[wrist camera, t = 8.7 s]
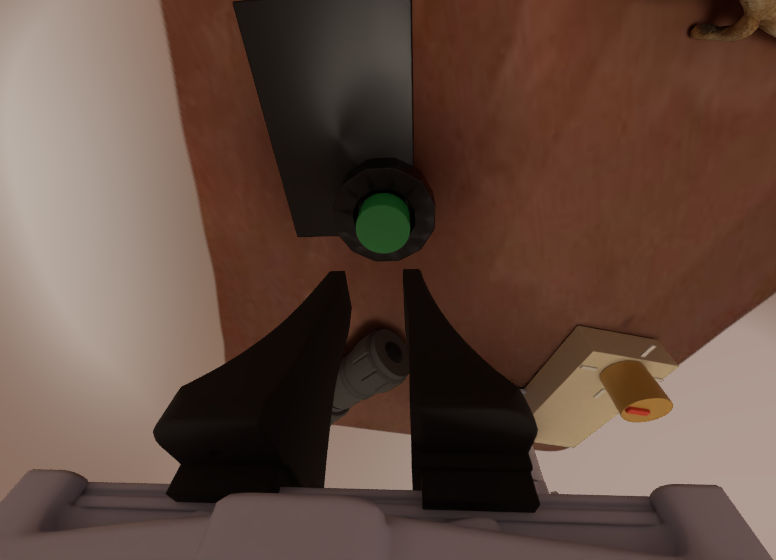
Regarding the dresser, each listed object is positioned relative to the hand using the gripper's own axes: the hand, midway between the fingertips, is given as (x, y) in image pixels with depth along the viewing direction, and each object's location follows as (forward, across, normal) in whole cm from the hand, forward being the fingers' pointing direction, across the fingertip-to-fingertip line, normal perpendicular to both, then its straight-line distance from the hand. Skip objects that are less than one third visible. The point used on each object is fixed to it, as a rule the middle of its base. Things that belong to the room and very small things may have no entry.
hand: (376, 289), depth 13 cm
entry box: (+10, +2, -4) cm, 11 cm away
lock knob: (+7, -20, +16) cm, 27 cm away
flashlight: (+11, +6, +19) cm, 22 cm away
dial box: (+10, -18, +22) cm, 30 cm away
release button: (+7, 0, 0) cm, 7 cm away
